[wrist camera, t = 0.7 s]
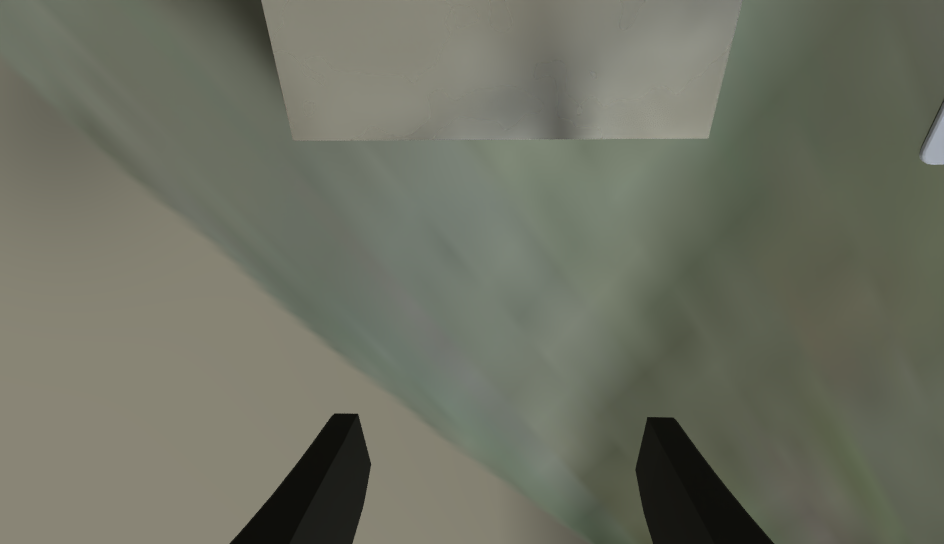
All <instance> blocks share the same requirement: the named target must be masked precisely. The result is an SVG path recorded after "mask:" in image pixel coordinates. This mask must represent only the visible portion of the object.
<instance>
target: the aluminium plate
mask: <svg viewBox="0 0 944 544" xmlns="http://www.w3.org/2000/svg"><path fill="white" fill-rule="evenodd" d="M261 2H262V6H263V10H264V15H265V19H266V23H267V28H268V32H269V37H270V41H271V45H272V50H273V54H274V58H275V63H276V67H277V72H278V76H279V80H280V85H281V89H282V93H283V98H284V102H285V107H286V111H287V115H288V120H289V124H290V129H291V133H292V137H293V141H332V140H507V139H681V138H708V137H709V133H710V129H711V125H712V121H713V117H714V113H715V109H716V105H717V101H718V97H719V93H720V89H721V85H722V80H723V76H724V72H725V68H726V64H727V60H728V56H729V52H730V48H731V44H732V40H733V36H734V32H735V28H736V24H737V20H738V16H739V12H740V8H741V4H742V0H261Z"/></svg>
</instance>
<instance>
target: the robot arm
mask: <svg viewBox="0 0 944 544" xmlns="http://www.w3.org/2000/svg"><path fill="white" fill-rule="evenodd" d="M920 159H921V160H922V161H923V162H924V163H927V164H932V165H936V164H944V102H943V104H942V106H941V108H940V110H939V112H938V114H937V117H936V119H935V121H934V123H933V125H932V127H931V129H930V131H929V133H928V135H927V137H926V140H925V142H924V144H923V146H922V148H921V151H920ZM370 467H371V462H370V458H369V454H368V451H367V447H366V443H365V439H364V435H363V432H362V427H361V423H360V419H359V416H358V414H334V415H333V416H332V417H331V418H330V419H329V421H328V422H327V423H326V425H325V426H324V428H323V429H322V430H321V432H320V433H319V434H318V436H317V437H316V439H315V440H314V441H313V443H312V444H311V445H310V447H309V448H308V450H307V451H306V452H305V454H304V455H303V456H302V458H301V459H300V460H299V461H298V463H297V464H296V465H295V467H294V468H293V469H292V471H291V472H290V473H289V474H288V476H287V477H286V478H285V479H284V481H283V482H282V483H281V484H280V486H279V487H278V488H277V489H276V491H275V492H274V493H273V495H272V496H271V497H270V498H269V499H268V500H267V502H266V503H265V504H264V505H263V506H262V508H261V509H260V510H259V511H258V512H257V513H256V514H255V516H254V517H253V518H252V519H251V520H250V521H249V523H248V524H247V525H246V526H245V527H244V528H243V529H242V531H241V532H240V533H239V534H238V535H237V536H236V537H235V538H234V539H233V540H232V541H231V543H230V544H352V543H353V539H354V536H355V533H356V529H357V526H358V523H359V519H360V516H361V512H362V509H363V505H364V500H365V495H366V490H367V484H368V478H369V473H370ZM635 470H636V475H637V480H638V486H639V491H640V496H641V501H642V506H643V511H644V515H645V518H646V522H647V525H648V528H649V532H650V535H651V538H652V542H653V544H774V543H773V542H772V541H771V539H770V538H769V537H768V536H767V535H766V534H765V533H764V531H763V530H762V529H761V528H760V527H759V526H758V525H757V523H756V522H755V521H754V520H753V519H752V518H751V516H750V515H749V514H748V513H747V512H746V511H745V509H744V508H743V507H742V506H741V504H740V503H739V502H738V501H737V499H736V498H735V497H734V496H733V495H732V493H731V492H730V491H729V490H728V488H727V487H726V486H725V485H724V484H723V482H722V481H721V480H720V478H719V477H718V476H717V475H716V473H715V472H714V471H713V469H712V468H711V467H710V465H709V464H708V463H707V462H706V460H705V459H704V458H703V456H702V455H701V454H700V452H699V451H698V450H697V448H696V447H695V445H694V444H693V443H692V441H691V440H690V439H689V437H688V436H687V434H686V433H685V432H684V430H683V429H682V427H681V426H680V425H679V423H678V422H677V421H676V420H675V419H674V418H665V417H647V422H646V426H645V430H644V435H643V439H642V443H641V448H640V452H639V456H638V461H637V465H636V469H635Z"/></svg>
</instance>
